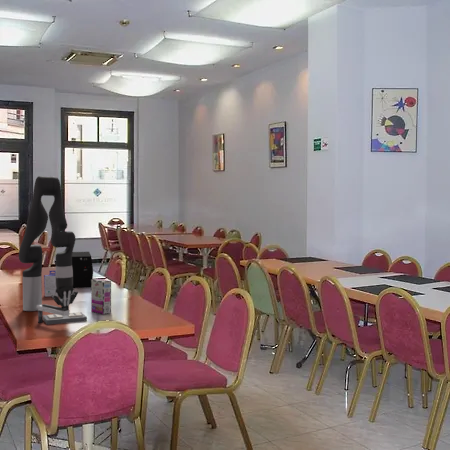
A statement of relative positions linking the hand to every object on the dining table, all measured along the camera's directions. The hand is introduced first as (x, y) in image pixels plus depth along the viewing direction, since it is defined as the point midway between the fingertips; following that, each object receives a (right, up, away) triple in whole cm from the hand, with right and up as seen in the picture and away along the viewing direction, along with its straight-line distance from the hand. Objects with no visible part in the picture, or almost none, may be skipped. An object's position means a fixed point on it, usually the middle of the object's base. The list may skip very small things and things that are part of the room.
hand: (65, 313), depth 268 cm
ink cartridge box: (-28, -1, +79) cm, 84 cm away
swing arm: (-6, +1, 0) cm, 6 cm away
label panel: (-3, -5, +11) cm, 12 cm away
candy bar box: (+10, -4, +29) cm, 31 cm away
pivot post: (-13, -5, +6) cm, 15 cm away
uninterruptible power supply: (-24, +1, +122) cm, 124 cm away
